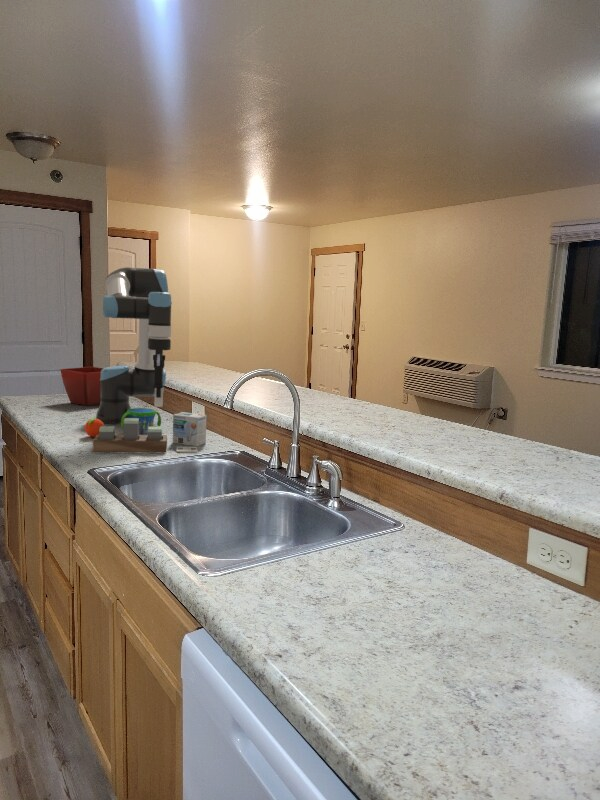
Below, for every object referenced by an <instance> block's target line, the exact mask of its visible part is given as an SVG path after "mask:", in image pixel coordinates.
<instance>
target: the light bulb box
mask: <svg viewBox="0 0 600 800" xmlns="http://www.w3.org/2000/svg"><path fill="white" fill-rule="evenodd" d="M207 416H208V415H207V414H203V413H202V414H200V413H193V412H187V411H186V412H184V411H181V412H178V413H174V414H173V419H172V420H173V421H172V444H173V443H174V444H178V445H179V444H180V445H185V446H191V447H199V446H201V445H204V444H206V443H207Z"/></svg>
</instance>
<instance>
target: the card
mask: <svg viewBox="0 0 600 800" xmlns="http://www.w3.org/2000/svg"><path fill="white" fill-rule="evenodd" d="M177 452H180V453H181V454H182V453H183V454H184V453H186V454H187V453H189V454H193V453H195V454H197V453H198V446H176V453H177Z"/></svg>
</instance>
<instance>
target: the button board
mask: <svg viewBox="0 0 600 800" xmlns="http://www.w3.org/2000/svg"><path fill="white" fill-rule="evenodd" d="M167 448H168V434H162V440H148V435H139V438H138V440H124V434H115V439H99V435H96V437H93V440H92V453H93V452H95V453H96V452H166V453H167Z"/></svg>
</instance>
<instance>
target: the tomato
mask: <svg viewBox="0 0 600 800" xmlns="http://www.w3.org/2000/svg"><path fill="white" fill-rule="evenodd" d="M101 426H105V423H103V422H102V421H101V420H99V419H96V417H94V418H90V419H89V420H87V422H85V426H84V431H85V433H86V434H87V435H88V436H89V437H91V438H95V437H96V435H99V429H100V427H101Z"/></svg>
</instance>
